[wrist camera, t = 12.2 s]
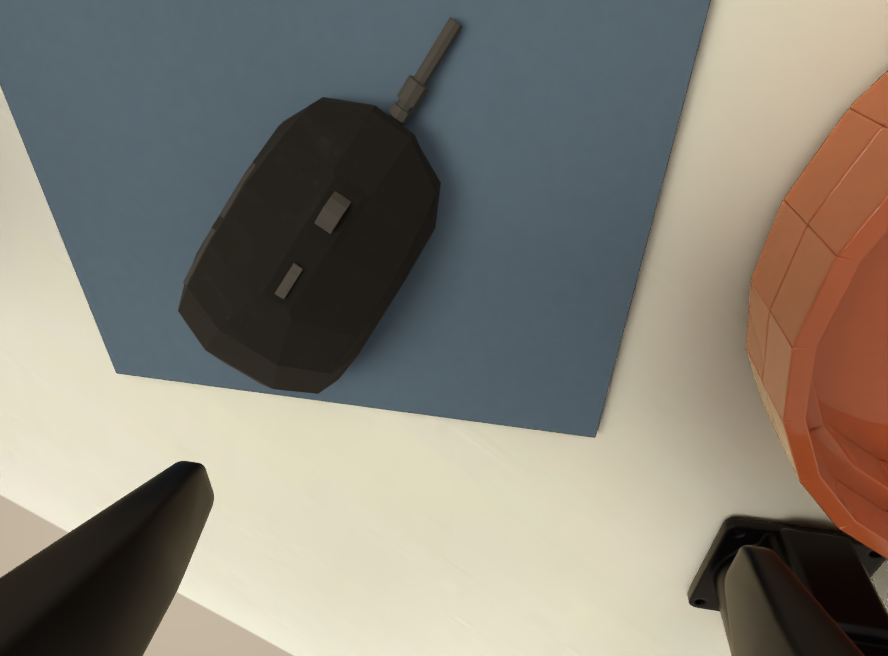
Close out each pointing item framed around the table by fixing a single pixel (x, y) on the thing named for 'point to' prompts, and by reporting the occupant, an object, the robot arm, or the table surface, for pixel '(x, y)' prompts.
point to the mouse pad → (440, 137)
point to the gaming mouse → (316, 239)
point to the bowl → (831, 323)
